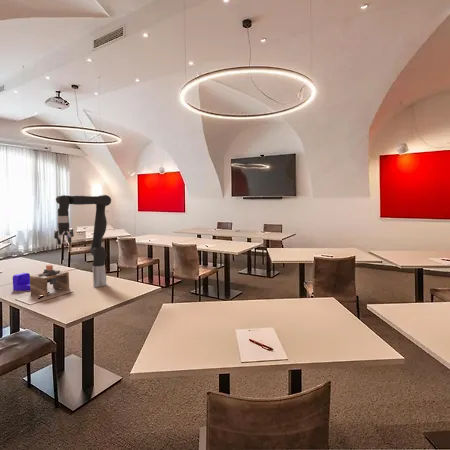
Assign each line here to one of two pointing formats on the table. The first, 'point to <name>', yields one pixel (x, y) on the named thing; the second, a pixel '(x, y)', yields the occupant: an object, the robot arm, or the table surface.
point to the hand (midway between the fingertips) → (64, 243)
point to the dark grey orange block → (51, 272)
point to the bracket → (21, 282)
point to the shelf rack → (40, 282)
